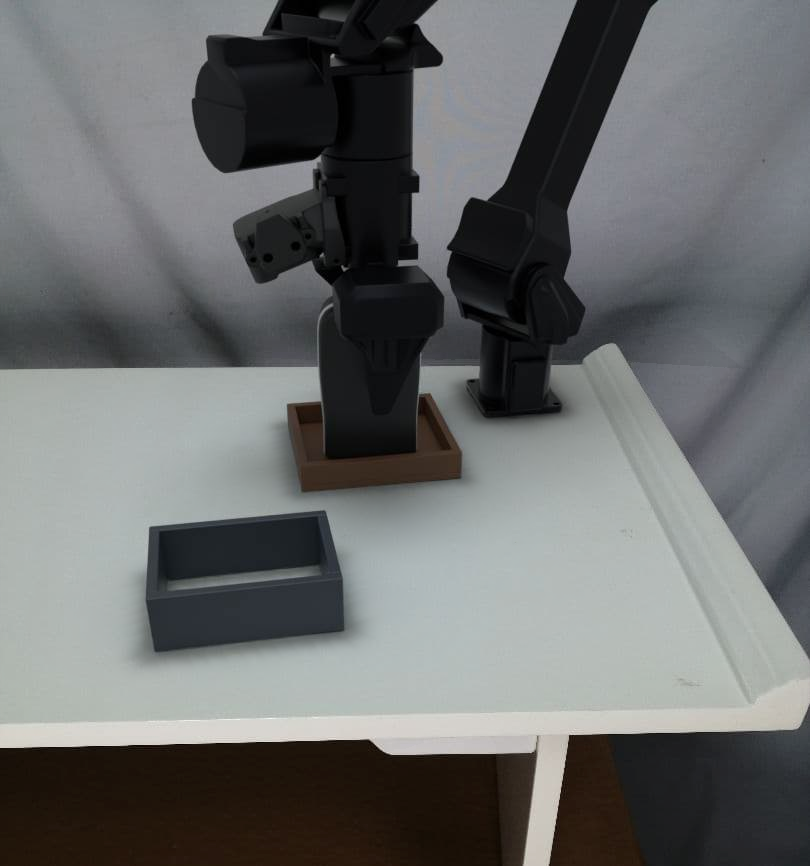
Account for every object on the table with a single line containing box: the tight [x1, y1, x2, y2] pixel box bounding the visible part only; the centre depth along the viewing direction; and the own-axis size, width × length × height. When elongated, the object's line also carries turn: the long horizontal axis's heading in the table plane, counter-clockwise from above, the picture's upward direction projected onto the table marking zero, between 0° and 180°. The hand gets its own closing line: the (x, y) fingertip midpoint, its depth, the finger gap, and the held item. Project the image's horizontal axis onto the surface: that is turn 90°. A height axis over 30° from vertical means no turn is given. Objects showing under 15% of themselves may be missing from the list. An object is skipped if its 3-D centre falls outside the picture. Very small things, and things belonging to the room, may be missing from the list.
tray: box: [286, 392, 463, 493], centre depth 69 cm, size 10×11×2 cm
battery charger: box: [316, 295, 422, 458], centre depth 66 cm, size 7×4×11 cm, turn 95°
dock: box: [145, 509, 345, 653], centre depth 53 cm, size 7×10×4 cm
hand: (369, 386), depth 67 cm, fingers open, 9 cm apart
